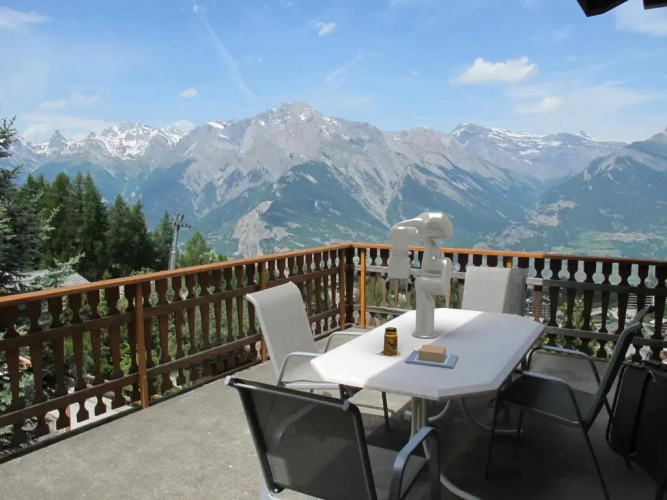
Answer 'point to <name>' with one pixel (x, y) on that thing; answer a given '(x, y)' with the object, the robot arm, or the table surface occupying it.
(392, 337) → the condiment
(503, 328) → the table surface
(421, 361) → the board
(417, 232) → the robot arm
